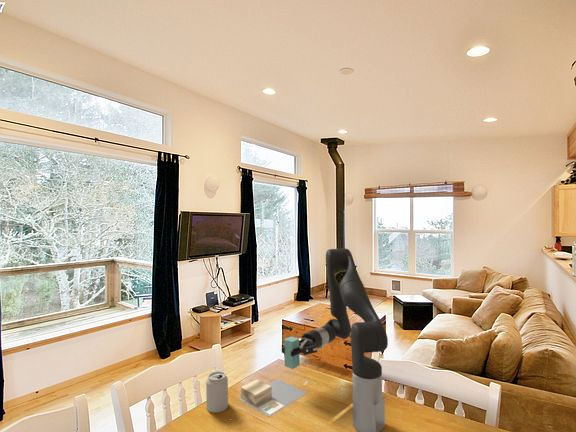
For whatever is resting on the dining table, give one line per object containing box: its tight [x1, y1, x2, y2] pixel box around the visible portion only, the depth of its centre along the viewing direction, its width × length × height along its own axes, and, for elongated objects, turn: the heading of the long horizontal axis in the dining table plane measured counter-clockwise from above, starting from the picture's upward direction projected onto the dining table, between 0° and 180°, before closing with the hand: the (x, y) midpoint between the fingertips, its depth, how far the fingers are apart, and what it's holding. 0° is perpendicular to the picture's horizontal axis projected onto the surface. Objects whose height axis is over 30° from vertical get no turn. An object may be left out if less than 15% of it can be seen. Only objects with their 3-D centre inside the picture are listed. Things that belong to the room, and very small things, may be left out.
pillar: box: [283, 336, 301, 370], centre depth 126 cm, size 4×4×10 cm
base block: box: [240, 379, 272, 406], centre depth 124 cm, size 8×8×4 cm
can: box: [205, 371, 229, 414], centre depth 119 cm, size 8×8×12 cm
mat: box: [238, 378, 308, 418], centre depth 125 cm, size 16×20×1 cm
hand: (286, 351), depth 124 cm, fingers closed on pillar, 4 cm apart
